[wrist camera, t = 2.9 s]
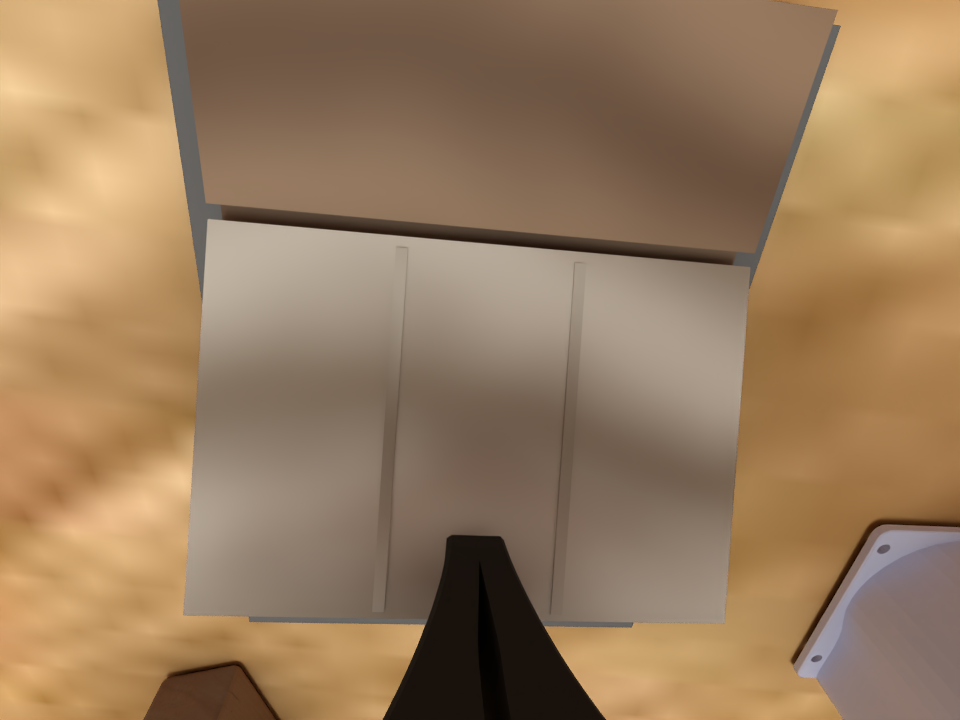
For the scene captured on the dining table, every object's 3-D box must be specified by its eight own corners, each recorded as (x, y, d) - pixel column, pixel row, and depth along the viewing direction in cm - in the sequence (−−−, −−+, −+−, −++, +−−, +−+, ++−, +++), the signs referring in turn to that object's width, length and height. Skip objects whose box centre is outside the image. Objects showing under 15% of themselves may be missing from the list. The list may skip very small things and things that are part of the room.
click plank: (700, 601, 15) (725, 625, 13) (206, 591, 13) (182, 616, 12) (724, 273, 14) (752, 266, 13) (228, 231, 13) (206, 218, 12)
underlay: (627, 615, 22) (631, 627, 21) (254, 608, 20) (249, 621, 20) (823, 29, 13) (840, 25, 12) (161, -63, 11) (146, -72, 11)
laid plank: (723, 267, 15) (746, 278, 13) (228, 223, 13) (209, 232, 12) (802, 20, 12) (837, 10, 11) (196, -65, 11) (167, -87, 10)
